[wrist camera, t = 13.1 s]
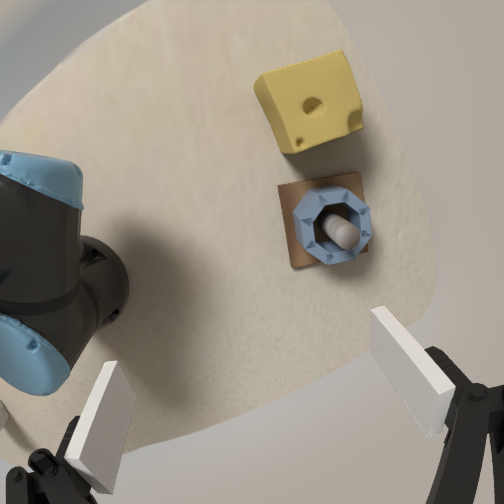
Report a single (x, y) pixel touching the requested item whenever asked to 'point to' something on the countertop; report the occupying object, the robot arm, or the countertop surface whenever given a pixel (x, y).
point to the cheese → (310, 102)
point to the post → (320, 216)
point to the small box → (3, 415)
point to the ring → (310, 210)
